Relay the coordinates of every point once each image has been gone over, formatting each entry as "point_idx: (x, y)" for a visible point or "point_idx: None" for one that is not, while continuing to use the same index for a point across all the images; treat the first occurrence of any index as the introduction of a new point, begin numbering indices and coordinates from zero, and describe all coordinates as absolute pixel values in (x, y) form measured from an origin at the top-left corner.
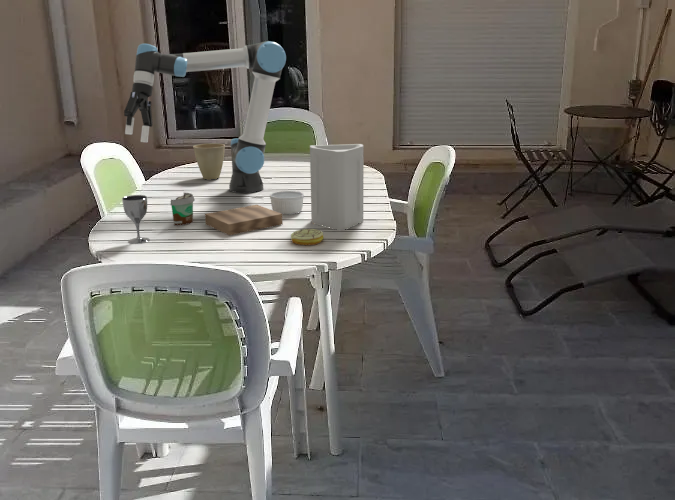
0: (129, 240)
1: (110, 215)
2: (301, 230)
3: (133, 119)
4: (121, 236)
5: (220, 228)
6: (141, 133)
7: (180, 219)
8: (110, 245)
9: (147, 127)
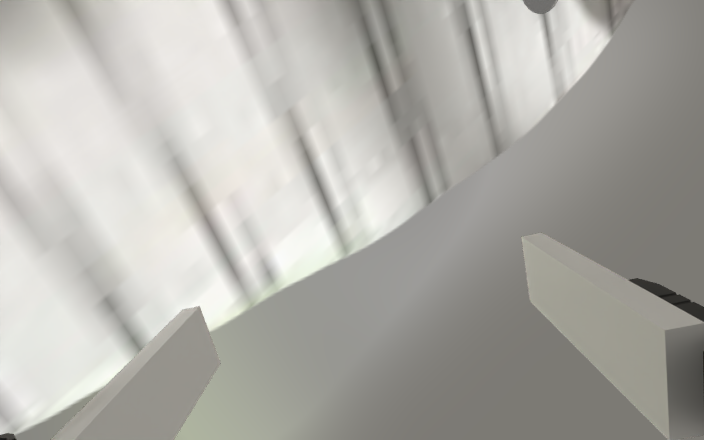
0: (548, 7)
1: (376, 236)
2: None
3: (664, 306)
4: (523, 56)
5: None
6: (181, 425)
7: None
8: (579, 34)
9: (100, 433)
